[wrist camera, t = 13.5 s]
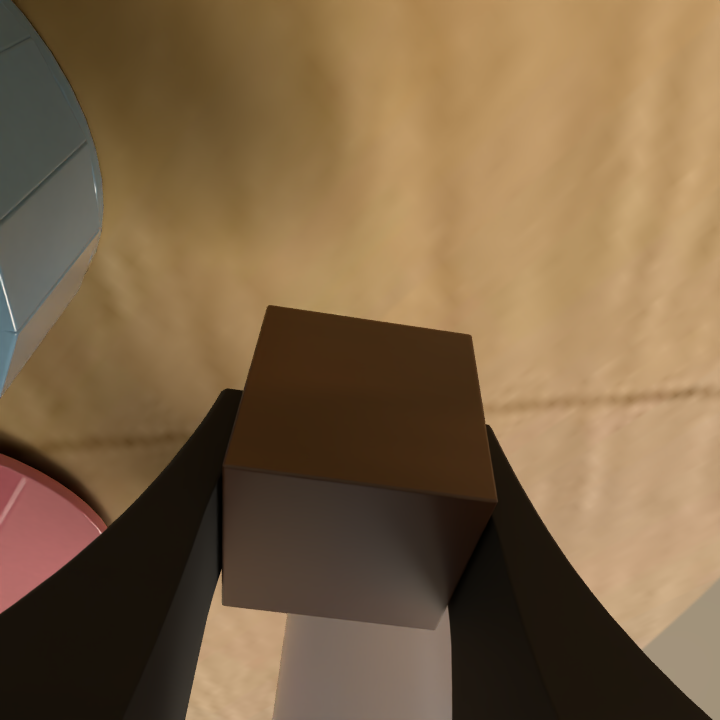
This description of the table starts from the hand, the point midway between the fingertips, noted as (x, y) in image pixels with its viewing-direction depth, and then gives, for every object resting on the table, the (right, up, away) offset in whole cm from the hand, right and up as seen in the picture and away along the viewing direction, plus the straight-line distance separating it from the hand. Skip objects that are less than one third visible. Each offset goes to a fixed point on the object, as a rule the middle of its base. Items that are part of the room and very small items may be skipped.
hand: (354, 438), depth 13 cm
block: (0, +1, +1) cm, 1 cm away
